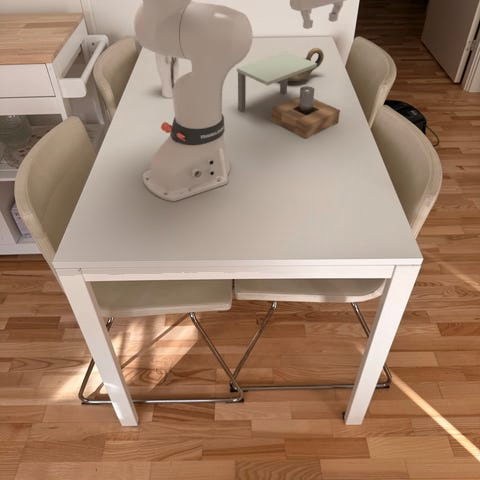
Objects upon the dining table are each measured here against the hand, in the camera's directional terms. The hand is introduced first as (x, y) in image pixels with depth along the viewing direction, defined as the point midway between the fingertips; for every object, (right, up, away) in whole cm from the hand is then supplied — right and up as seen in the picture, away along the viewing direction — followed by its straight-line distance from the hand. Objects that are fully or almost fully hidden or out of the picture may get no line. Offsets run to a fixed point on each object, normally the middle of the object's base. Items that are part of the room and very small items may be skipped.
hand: (320, 24), depth 112 cm
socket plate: (-1, -18, +23) cm, 29 cm away
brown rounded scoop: (0, +3, +46) cm, 46 cm away
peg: (-1, -18, +23) cm, 29 cm away
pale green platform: (-9, -12, +30) cm, 33 cm away
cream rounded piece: (-43, -6, +37) cm, 57 cm away
